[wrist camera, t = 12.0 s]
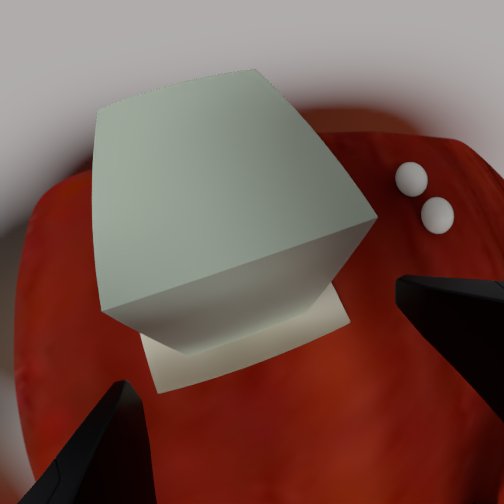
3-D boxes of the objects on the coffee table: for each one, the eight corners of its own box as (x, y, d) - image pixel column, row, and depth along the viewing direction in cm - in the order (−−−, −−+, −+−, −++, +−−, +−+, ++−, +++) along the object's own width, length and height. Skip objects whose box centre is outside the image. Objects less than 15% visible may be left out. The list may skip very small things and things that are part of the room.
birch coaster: (347, 324, 16) (350, 322, 15) (161, 393, 14) (158, 393, 13) (272, 180, 21) (273, 175, 20) (122, 227, 19) (119, 223, 18)
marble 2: (443, 222, 20) (461, 203, 17) (438, 246, 19) (458, 228, 16) (418, 204, 20) (434, 183, 18) (411, 228, 19) (429, 206, 17)
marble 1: (420, 188, 21) (434, 168, 19) (414, 209, 20) (431, 188, 18) (394, 172, 22) (406, 149, 19) (386, 191, 21) (400, 167, 18)
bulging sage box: (305, 313, 16) (377, 217, 7) (188, 355, 14) (101, 311, 5) (251, 198, 19) (255, 68, 10) (153, 229, 18) (97, 110, 9)
